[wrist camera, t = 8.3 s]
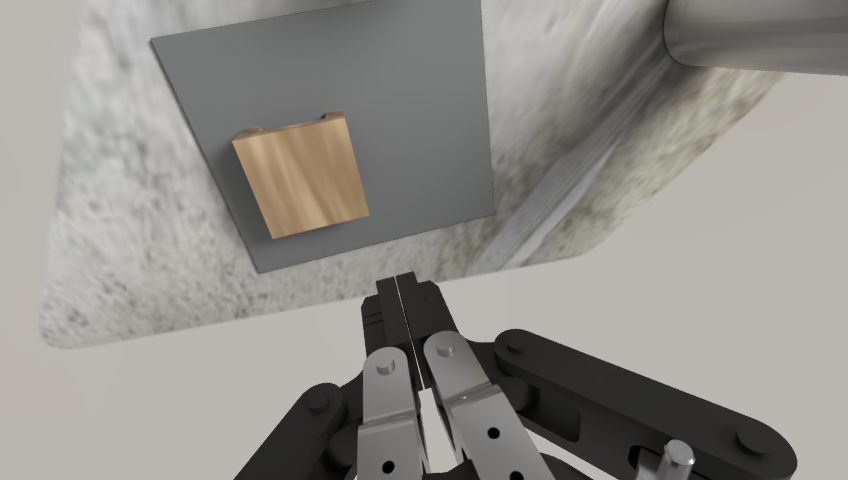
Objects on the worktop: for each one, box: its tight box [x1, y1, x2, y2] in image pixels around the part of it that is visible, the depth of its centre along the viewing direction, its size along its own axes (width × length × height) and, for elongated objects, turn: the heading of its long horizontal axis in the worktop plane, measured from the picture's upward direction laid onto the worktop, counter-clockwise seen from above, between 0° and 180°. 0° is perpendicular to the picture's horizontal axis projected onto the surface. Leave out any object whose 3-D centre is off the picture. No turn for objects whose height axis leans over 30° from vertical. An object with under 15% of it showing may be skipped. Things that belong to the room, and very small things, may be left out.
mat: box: [150, 0, 495, 273], centre depth 32 cm, size 24×20×1 cm
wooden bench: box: [232, 110, 370, 239], centre depth 30 cm, size 4×8×8 cm
